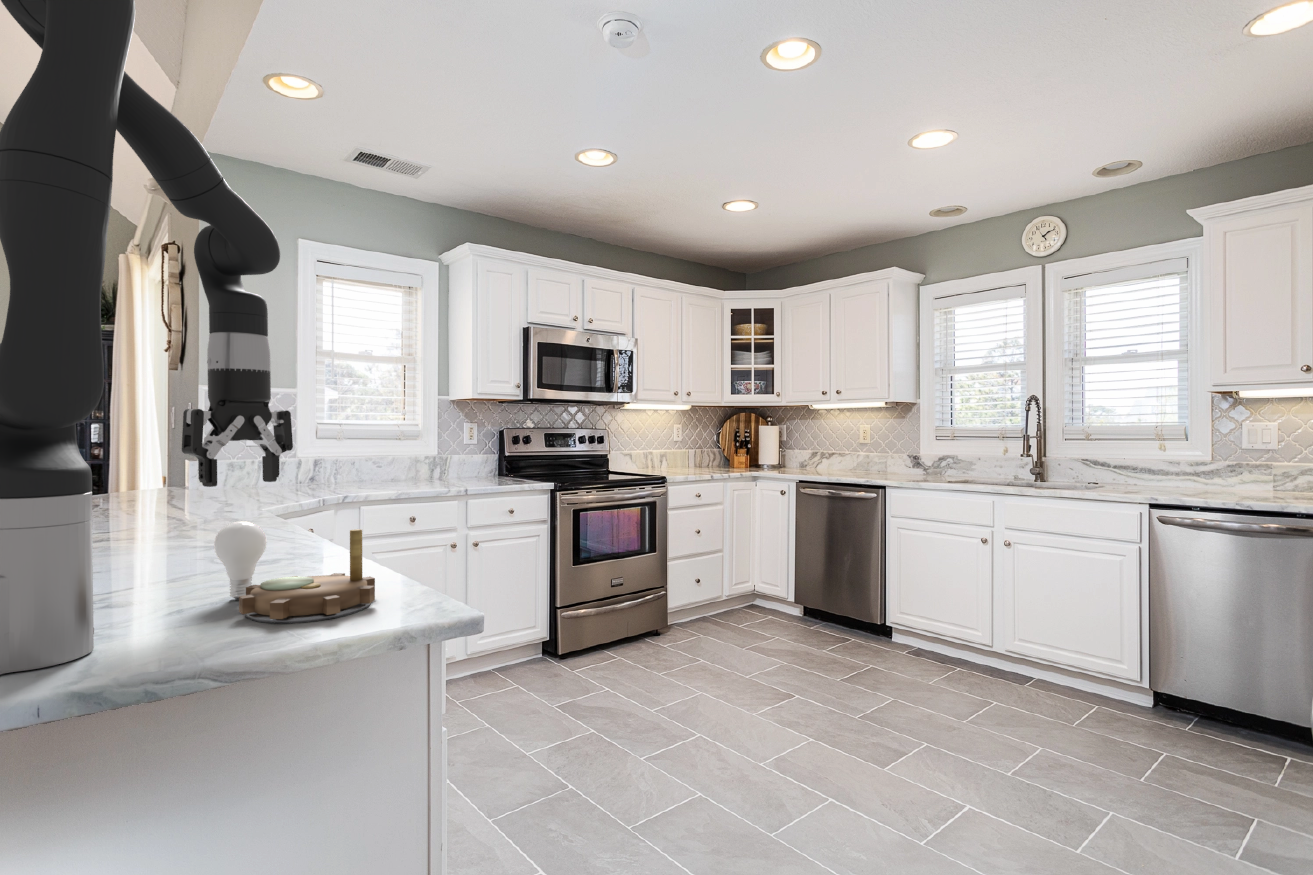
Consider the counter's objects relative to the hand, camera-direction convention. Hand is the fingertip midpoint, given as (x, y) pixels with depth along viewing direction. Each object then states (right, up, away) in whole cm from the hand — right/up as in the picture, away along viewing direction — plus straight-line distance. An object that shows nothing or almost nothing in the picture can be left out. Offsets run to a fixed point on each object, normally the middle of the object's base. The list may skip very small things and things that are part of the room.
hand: (241, 483), depth 96 cm
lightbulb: (0, -16, 0) cm, 16 cm away
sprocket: (+12, -16, -4) cm, 20 cm away
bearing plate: (+12, -16, -4) cm, 20 cm away
